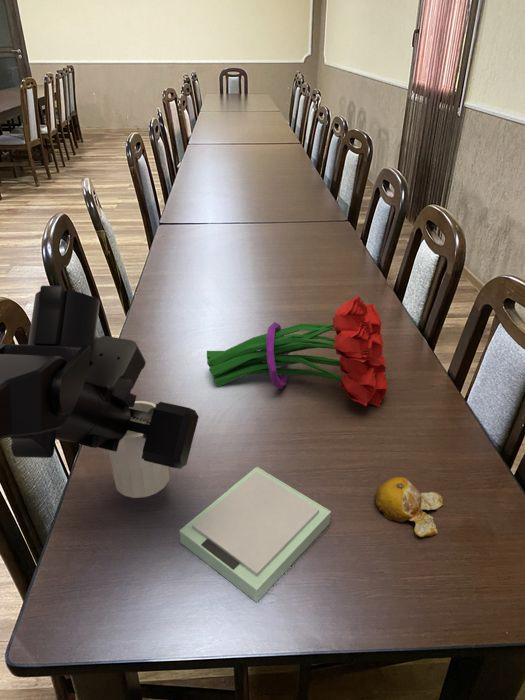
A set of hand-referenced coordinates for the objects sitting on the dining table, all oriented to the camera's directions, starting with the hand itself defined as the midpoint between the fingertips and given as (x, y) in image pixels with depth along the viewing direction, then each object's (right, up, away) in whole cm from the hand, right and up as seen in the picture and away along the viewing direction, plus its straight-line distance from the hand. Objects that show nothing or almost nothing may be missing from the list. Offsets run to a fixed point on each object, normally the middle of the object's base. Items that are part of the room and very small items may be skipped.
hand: (142, 430), depth 65 cm
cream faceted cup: (-1, -7, +3) cm, 7 cm away
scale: (+14, -12, 0) cm, 19 cm away
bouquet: (+20, +3, +26) cm, 33 cm away
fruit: (+33, -11, +3) cm, 35 cm away
